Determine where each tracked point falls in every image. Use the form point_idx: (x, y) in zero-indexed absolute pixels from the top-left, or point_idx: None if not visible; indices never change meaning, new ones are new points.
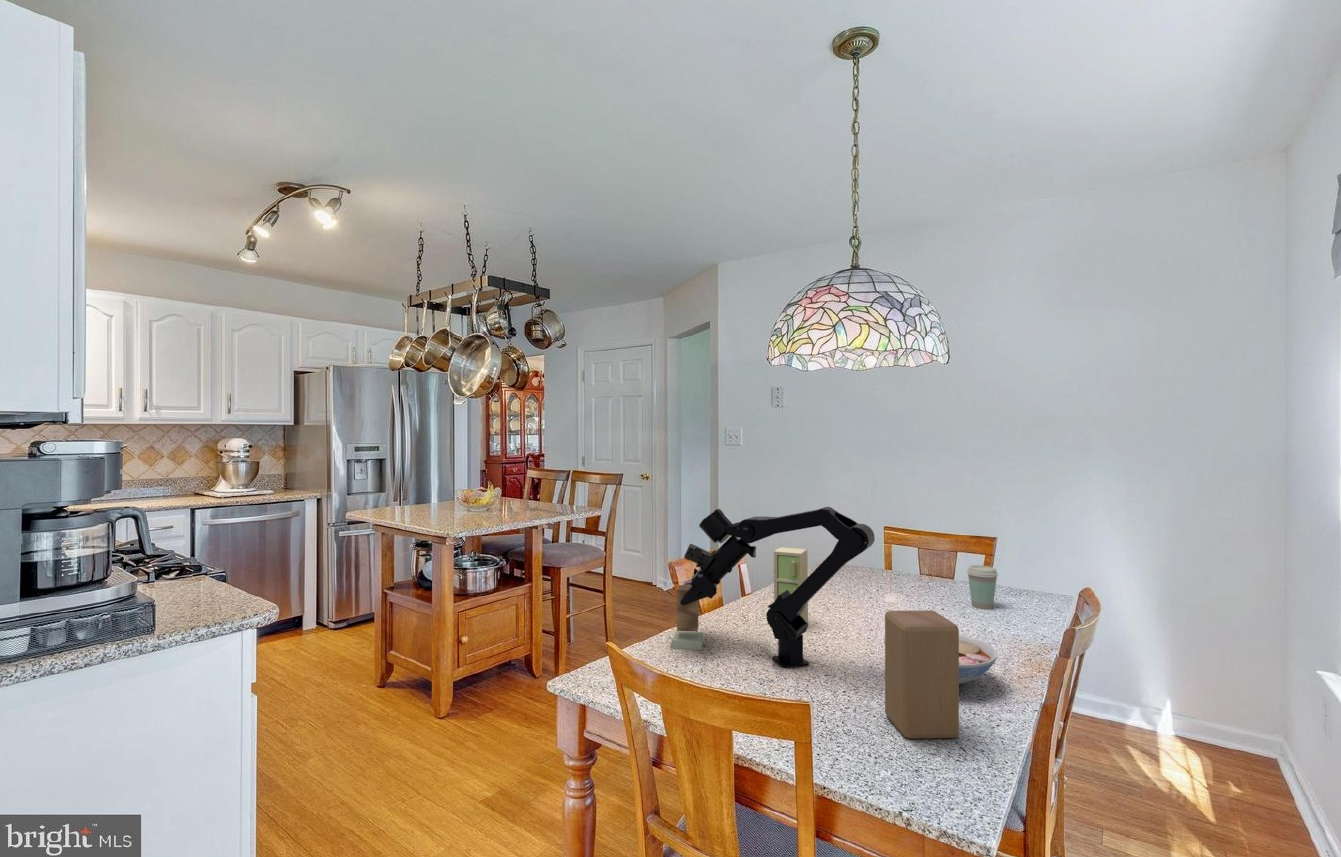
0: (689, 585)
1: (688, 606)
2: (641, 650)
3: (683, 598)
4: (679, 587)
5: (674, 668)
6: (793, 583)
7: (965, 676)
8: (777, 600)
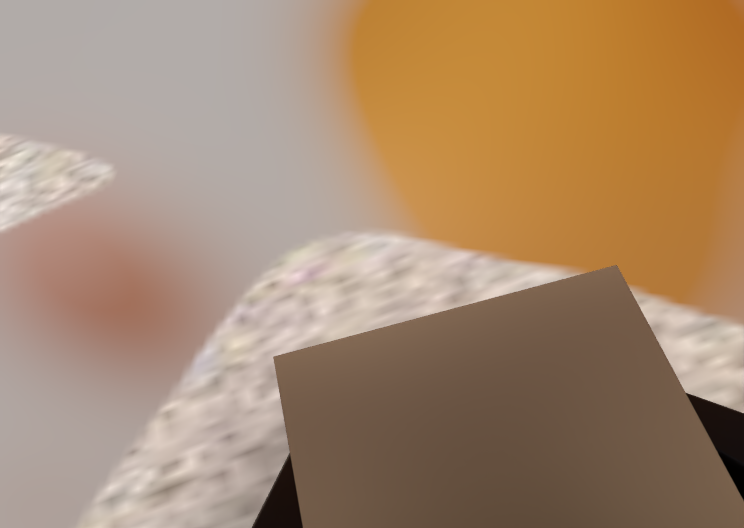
0: (694, 486)
1: None
2: (326, 250)
3: (272, 496)
4: (448, 346)
5: (134, 490)
6: None
7: None
8: None
